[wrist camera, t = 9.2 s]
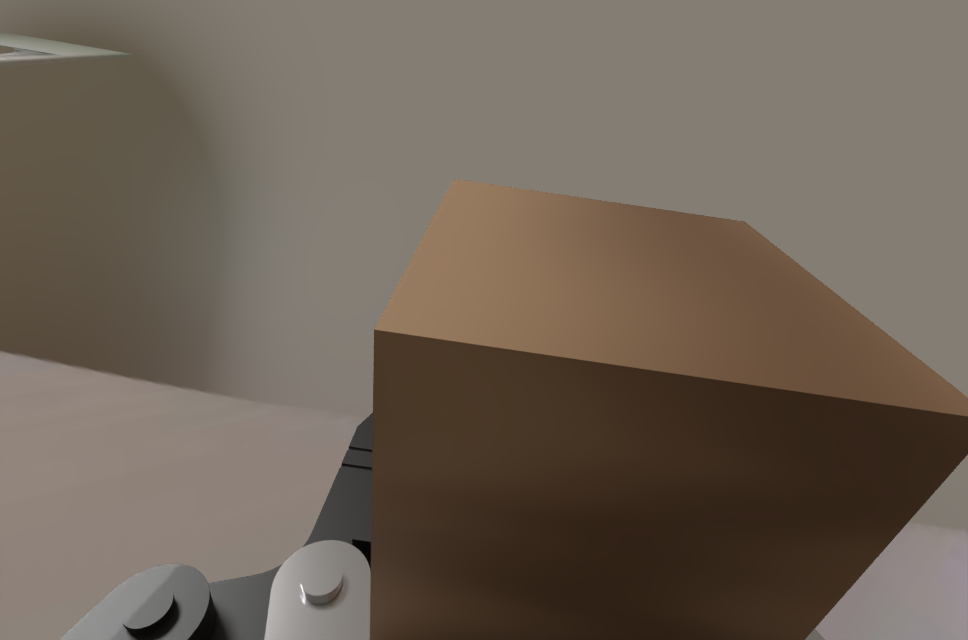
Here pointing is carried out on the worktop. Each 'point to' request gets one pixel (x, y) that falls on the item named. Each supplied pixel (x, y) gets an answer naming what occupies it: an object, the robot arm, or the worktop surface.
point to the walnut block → (633, 430)
